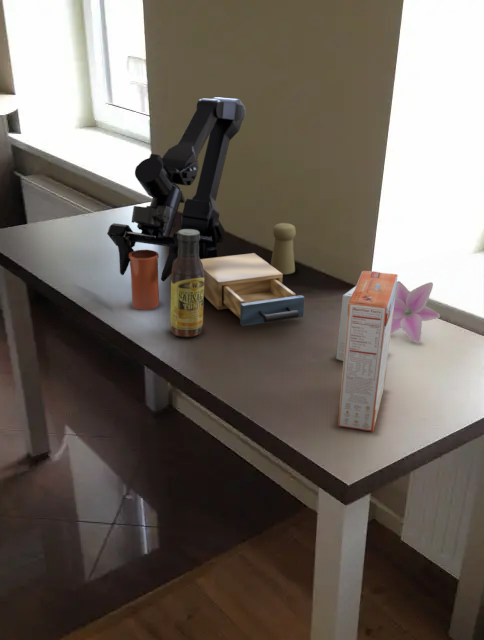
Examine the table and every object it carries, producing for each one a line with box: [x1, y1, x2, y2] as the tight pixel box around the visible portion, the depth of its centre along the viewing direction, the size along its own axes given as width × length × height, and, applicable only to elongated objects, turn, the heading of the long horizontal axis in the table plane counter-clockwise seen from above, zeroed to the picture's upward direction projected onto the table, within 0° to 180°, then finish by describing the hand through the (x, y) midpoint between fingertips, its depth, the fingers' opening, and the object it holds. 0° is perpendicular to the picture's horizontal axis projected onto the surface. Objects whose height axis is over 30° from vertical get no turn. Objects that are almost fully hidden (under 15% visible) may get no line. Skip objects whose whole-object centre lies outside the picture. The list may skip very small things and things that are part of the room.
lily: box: [391, 280, 441, 345], centre depth 145 cm, size 12×12×10 cm
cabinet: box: [200, 252, 284, 311], centre depth 161 cm, size 15×15×6 cm
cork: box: [270, 222, 297, 275], centre depth 173 cm, size 6×6×11 cm
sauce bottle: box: [169, 229, 205, 338], centre depth 139 cm, size 7×6×20 cm
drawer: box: [222, 279, 305, 327], centre depth 150 cm, size 17×13×4 cm
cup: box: [129, 249, 160, 311], centre depth 153 cm, size 6×6×11 cm
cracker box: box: [337, 270, 399, 432], centre depth 114 cm, size 14×6×21 cm, turn 163°
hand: (141, 277), depth 151 cm, fingers open, 9 cm apart
